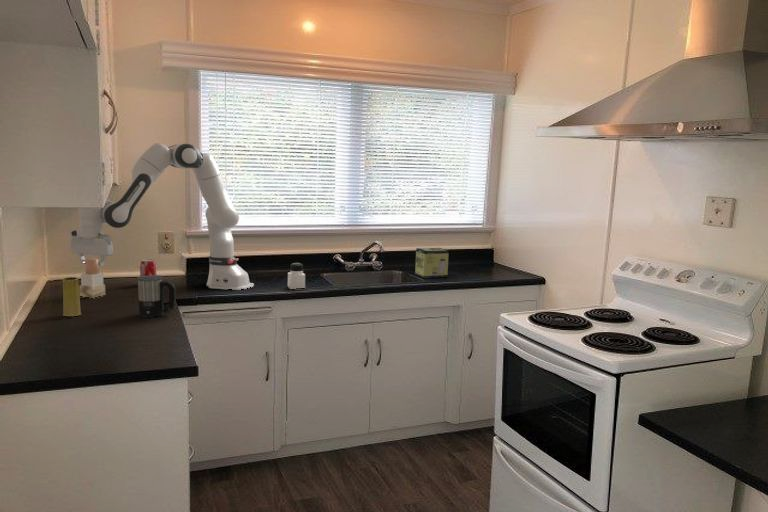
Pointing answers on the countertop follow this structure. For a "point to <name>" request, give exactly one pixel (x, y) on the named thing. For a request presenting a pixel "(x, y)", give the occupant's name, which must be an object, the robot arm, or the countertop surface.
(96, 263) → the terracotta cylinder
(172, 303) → the milk frother
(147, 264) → the soda can
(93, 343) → the countertop surface
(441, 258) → the protein box
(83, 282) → the tower top
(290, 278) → the medicine bottle
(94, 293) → the tower base
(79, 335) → the countertop surface
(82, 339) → the countertop surface
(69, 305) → the vase
